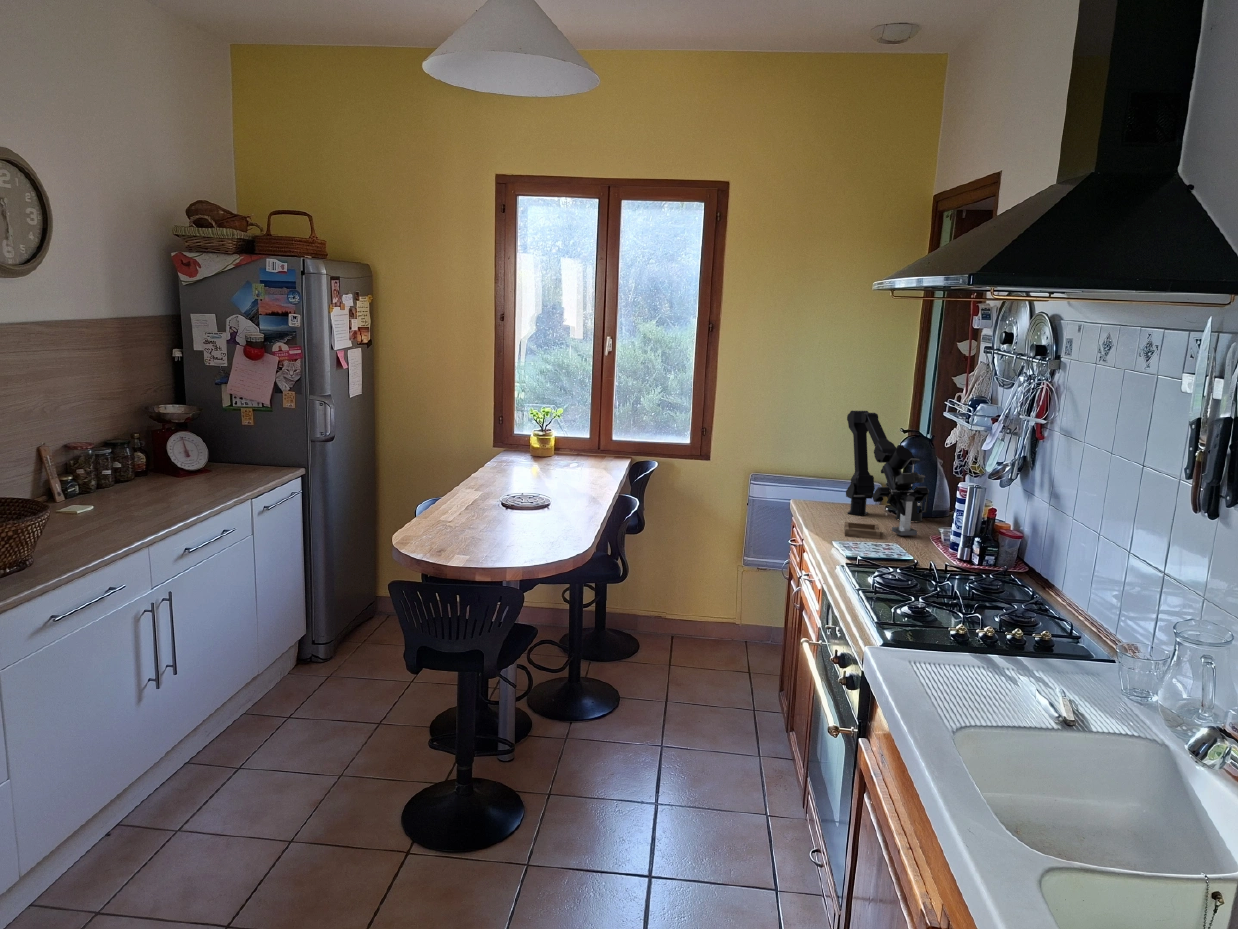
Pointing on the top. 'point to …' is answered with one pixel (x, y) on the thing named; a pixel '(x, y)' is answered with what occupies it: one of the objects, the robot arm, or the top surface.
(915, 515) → the french press
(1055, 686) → the top surface
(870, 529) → the dock
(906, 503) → the post on square base
